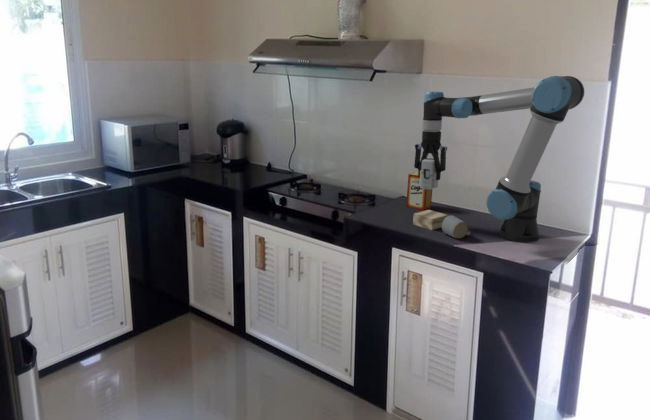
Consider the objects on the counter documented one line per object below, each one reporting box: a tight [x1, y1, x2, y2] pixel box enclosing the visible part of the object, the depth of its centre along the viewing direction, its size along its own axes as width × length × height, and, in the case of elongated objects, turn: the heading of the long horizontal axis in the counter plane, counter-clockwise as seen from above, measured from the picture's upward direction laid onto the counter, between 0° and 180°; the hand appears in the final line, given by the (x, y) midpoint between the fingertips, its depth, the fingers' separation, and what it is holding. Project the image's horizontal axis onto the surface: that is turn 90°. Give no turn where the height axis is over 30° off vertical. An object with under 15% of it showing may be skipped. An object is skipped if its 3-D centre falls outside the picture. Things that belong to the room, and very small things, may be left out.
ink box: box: [420, 157, 436, 191], centre depth 228 cm, size 9×5×12 cm, turn 154°
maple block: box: [412, 209, 449, 231], centre depth 232 cm, size 10×10×5 cm
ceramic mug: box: [441, 214, 471, 240], centre depth 218 cm, size 11×8×8 cm
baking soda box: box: [406, 171, 433, 211], centre depth 257 cm, size 10×6×16 cm
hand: (428, 186), depth 230 cm, fingers closed on ink box, 6 cm apart
